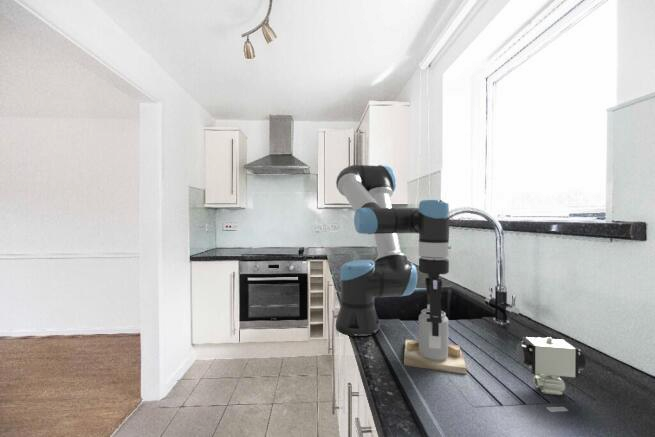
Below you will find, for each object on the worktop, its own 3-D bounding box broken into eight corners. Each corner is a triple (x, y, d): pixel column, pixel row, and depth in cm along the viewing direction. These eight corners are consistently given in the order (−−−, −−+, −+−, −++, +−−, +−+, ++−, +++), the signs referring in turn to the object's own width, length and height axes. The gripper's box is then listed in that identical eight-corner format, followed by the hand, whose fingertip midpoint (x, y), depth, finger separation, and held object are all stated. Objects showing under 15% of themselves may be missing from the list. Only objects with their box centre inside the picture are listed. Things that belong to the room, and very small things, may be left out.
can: (424, 346, 84) (424, 305, 84) (451, 354, 79) (451, 310, 79) (414, 356, 78) (414, 312, 78) (442, 365, 73) (442, 318, 73)
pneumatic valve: (586, 400, 62) (586, 344, 62) (524, 393, 64) (525, 339, 64) (570, 385, 67) (570, 333, 67) (514, 379, 70) (514, 330, 69)
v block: (405, 344, 89) (405, 332, 89) (459, 350, 85) (459, 338, 84) (404, 365, 76) (404, 351, 76) (466, 374, 72) (466, 360, 72)
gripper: (454, 266, 65) (454, 361, 65) (444, 252, 89) (444, 321, 89) (419, 264, 67) (419, 356, 67) (418, 251, 91) (418, 318, 91)
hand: (433, 336), depth 78 cm, fingers open, 13 cm apart
